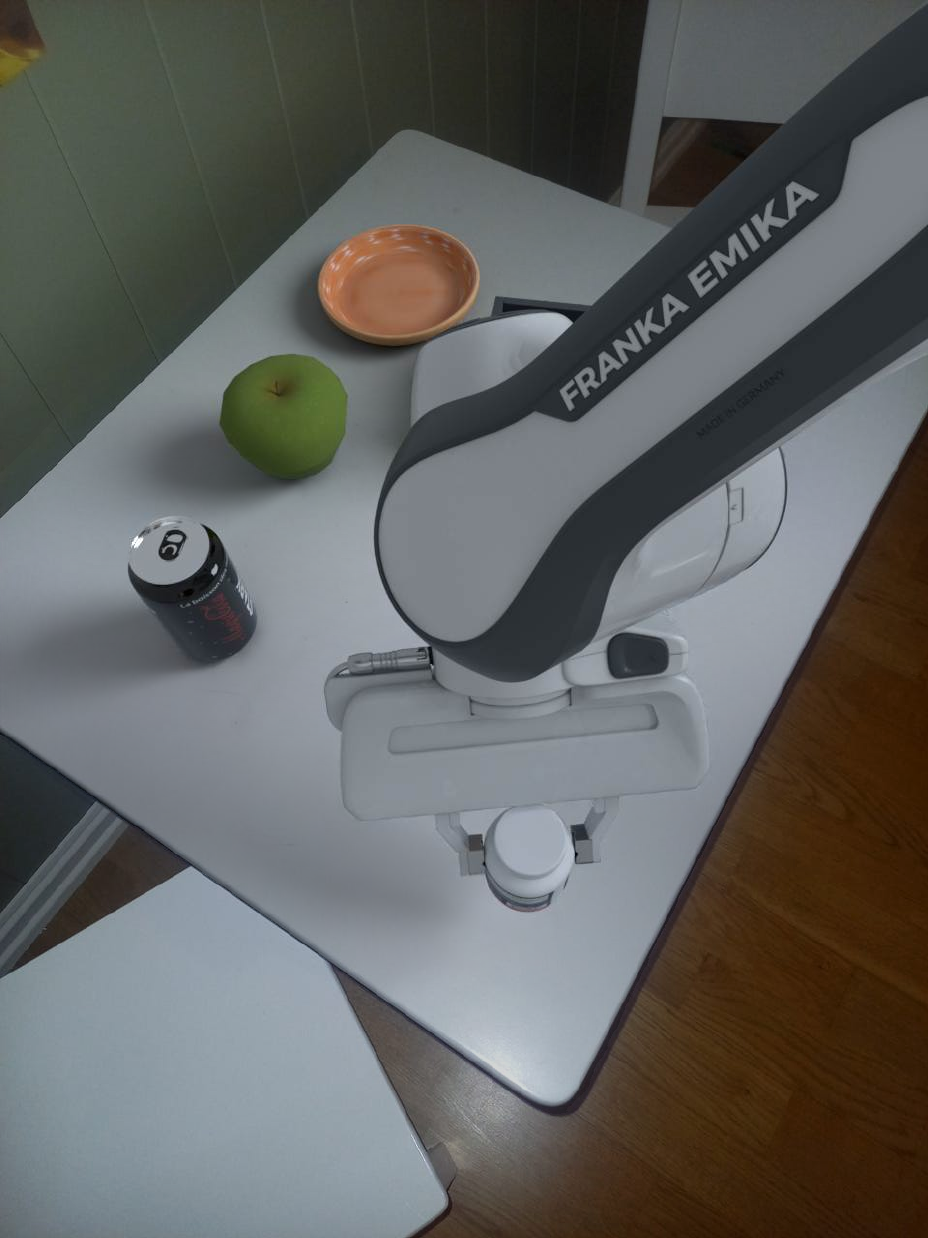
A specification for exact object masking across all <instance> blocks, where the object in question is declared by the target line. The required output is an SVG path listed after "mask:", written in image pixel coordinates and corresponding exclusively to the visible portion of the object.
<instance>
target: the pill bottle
mask: <svg viewBox="0 0 928 1238" xmlns="http://www.w3.org/2000/svg"><path fill="white" fill-rule="evenodd" d="M483 847H484V857H485V867H486V874H484V875H485V880H486V884H487V887H488V888H489V890H490V892H491V893H492V895H493V897H494V898H495V899H496V900H497V901H498V902H499V903H500V904H502V905H503V906H505V907H506V908H507V909H509V910H512V911H515V912H519V913H526V914H527V913H529V914H531V913H536V912H540V911H543V910H545V909H548V908H549V907H550V906H551V905H553V904H554V903H555V902H556V901H558V899H559V898H560V897H561V896H562V894H563V892H564V891H565V889H566V887H567V885H568V882H569V878H570V876H571V875H570V874H571V872H572V869H573V866H574V864H575V846H574V841H573V837H572V834H571V830H570V828H569V826H568V824H567V823H566V822H565V820H564V819H563V818H562V817H561V816H559V814H557V813H556V812H555V811H554V810H552V809H551V808H549V806H546V805H545V804H537V805H527V806H517V807H508V808H507V809H505V810H503V811H502V812H501V813H500V814H498V815H497V816H496V818H495V819H494V820H493V821H492V822H491V824H490V825H489V827H488V829H487V831H486V833H485V837H484V839H483Z"/></svg>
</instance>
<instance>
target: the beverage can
mask: <svg viewBox="0 0 928 1238" xmlns="http://www.w3.org/2000/svg"><path fill="white" fill-rule="evenodd" d="M127 552H128V554H127V555H128V557H127V559H128V563H127V576H128V580H129V581H130V584H131V586H132V588H133V589H134V591H135V592H136V594H137V595H138V596H139V598H140V599H141V600H142V602H143V603H144V604H145V606H146V607H147V609H148V610H149V611H150V613H151V614H152V616H153V617H154V618H155V619H156V621H157V622H158V623H159V625H160V626H161V627H162V629H163V631H164V632H165V633H166V634H167V635H168V637H169V638H170V640H172V642H173V643H174V644H175V646H176V647H177V648H178V649H179V650H180V651H181V653H183V654H184V655H186V656H187V657H188V658H190V659H193V660H195V661H200V662H206V663H207V662H218V661H222V660H225V659H228V658H230V657H233V656H234V655H236V654H238V653H239V652H240V651H241V650H243V649H244V648H245V647H246V646H247V644H248V643H250V641H251V639H252V638H253V636H254V634H255V631H256V628H257V625H258V613H257V609H256V607H255V604H254V601H253V600H252V598H251V596H250V594H249V591H248V590H247V587H246V586H245V584H244V582H243V580H242V578H241V576H240V574H239V572H238V570H237V568H236V566H235V564H234V561H233V560H232V558H231V556H230V554H229V552H228V550H227V549H226V546H225V545H224V543H223V541H222V540H221V538H220V537H219V535H218V534H217V533H216V532H215V531H214V530H213V529H211V527H208V526H207V525H205V524H203V523H200V522H198V521H197V520H195V519H193V518H191V517H188V516H184V515H169V516H164V517H160V518H157V519H155V520H152V521H151V522H149V523H148V524H146V525H144V526H143V527H142V528H141V529H140V530H139V531H138V532H137V533H136V534H135V536H134V537H133V538H132V540H131V542H130V545H129V547H128V551H127Z"/></svg>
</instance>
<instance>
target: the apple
mask: <svg viewBox="0 0 928 1238" xmlns="http://www.w3.org/2000/svg"><path fill="white" fill-rule="evenodd" d="M348 398H349V395H348V393H347V391H346V389H345V386H344V384H343V383H342V381H341V379H340V377H339V376H338V375H337V374H336V373H335V372H334V371H333V370H332V369H331V368H330V367H329V366H328V365H326V364H325V363H323V362H321V361H320V360H319V359H317V358H315V357H314V356H308V355H302V354H296V353H286V354H278V355H276V354H275V355H269V356H267V357H265V358H263V359H261V360H258V361H255V362H254V363H251V364H250V365H249V366H246V368H244V369H243V370H242V371H240V372H239V373H237V374H236V375H235V376H234V377H232V379H231V381H230V382H229V384H228V385H227V387H226V388H225V390H224V391H223V394H222V402H221V409H220V416H219V427H220V429H221V431H222V433H223V434H224V437H225V439H226V440H227V443H228V444H230V446H231V447H232V448H233V449H234V450H235V451H236V452H237V453H238V454H239V455H240V456H241V457H242V458H243V459H245V460H246V461H247V462H248V463H250V464H251V465H253V466H254V467H256V469H259V470H261V471H262V472H264V473H266V474H268V475H269V476H271V477H275V478H279V479H283V480H301V479H306V478H309V477H312V476H314V475H317V474H320V473H321V472H322V471H323V470H324V469H326V468H327V467H328V466H329V465H330V464H332V462H333V460H334V459H335V456H336V454H337V452H338V450H339V447H340V446H341V444H342V441H343V439H344V437H345V436H346V435H345V434H346V427H347V413H348Z"/></svg>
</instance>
